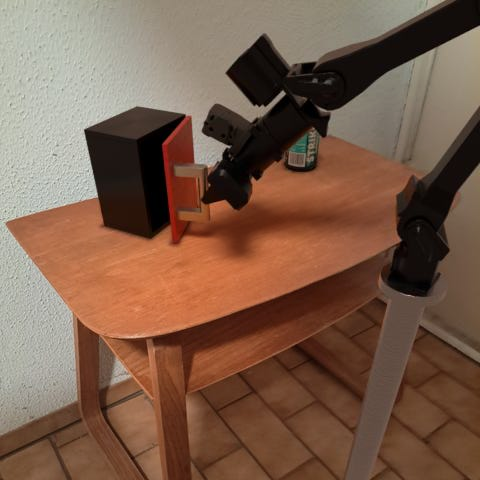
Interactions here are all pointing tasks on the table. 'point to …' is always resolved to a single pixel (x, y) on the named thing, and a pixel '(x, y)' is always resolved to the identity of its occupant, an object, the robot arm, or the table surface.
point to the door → (184, 179)
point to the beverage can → (303, 152)
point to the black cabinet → (132, 168)
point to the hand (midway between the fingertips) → (204, 199)
